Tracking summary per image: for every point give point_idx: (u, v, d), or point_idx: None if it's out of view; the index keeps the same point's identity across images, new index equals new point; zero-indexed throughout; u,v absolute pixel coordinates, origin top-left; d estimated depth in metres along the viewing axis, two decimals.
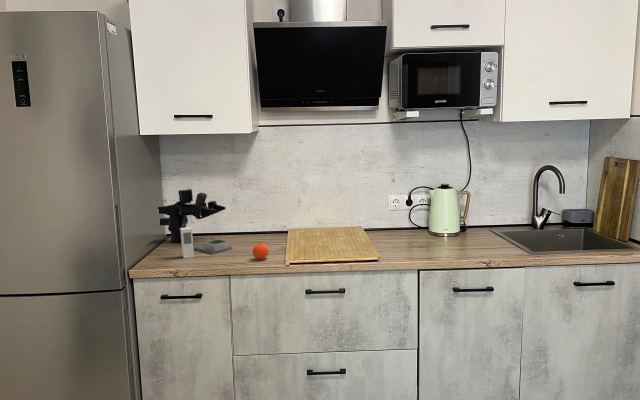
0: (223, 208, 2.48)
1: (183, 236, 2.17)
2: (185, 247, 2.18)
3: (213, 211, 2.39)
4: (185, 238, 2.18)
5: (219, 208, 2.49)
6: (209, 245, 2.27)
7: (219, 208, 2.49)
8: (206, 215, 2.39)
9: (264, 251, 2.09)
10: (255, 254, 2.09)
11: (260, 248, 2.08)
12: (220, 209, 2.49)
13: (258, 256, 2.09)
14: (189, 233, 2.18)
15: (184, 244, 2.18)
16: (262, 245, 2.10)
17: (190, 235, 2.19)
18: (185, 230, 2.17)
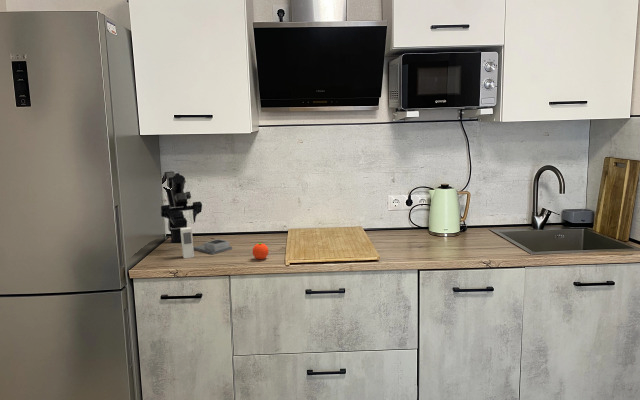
0: None
1: (183, 236, 2.17)
2: (185, 247, 2.18)
3: (172, 221, 2.26)
4: (185, 238, 2.18)
5: (193, 216, 2.31)
6: (209, 245, 2.27)
7: (193, 215, 2.31)
8: (168, 218, 2.29)
9: (264, 251, 2.09)
10: (255, 254, 2.09)
11: (260, 248, 2.08)
12: (193, 218, 2.31)
13: (258, 256, 2.09)
14: (189, 233, 2.18)
15: (184, 244, 2.18)
16: (262, 245, 2.10)
17: (190, 235, 2.19)
18: (185, 230, 2.17)
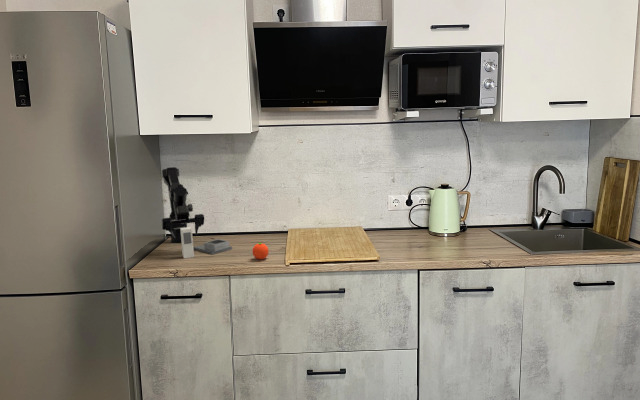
0: (195, 233, 2.24)
1: (183, 236, 2.17)
2: (185, 247, 2.18)
3: (173, 234, 2.20)
4: (185, 238, 2.18)
5: None
6: (209, 245, 2.27)
7: (195, 229, 2.25)
8: (170, 231, 2.23)
9: (264, 251, 2.09)
10: (255, 254, 2.09)
11: (260, 248, 2.08)
12: (195, 231, 2.25)
13: (258, 256, 2.09)
14: (189, 233, 2.18)
15: (184, 244, 2.18)
16: (262, 245, 2.10)
17: (190, 235, 2.19)
18: (185, 230, 2.17)
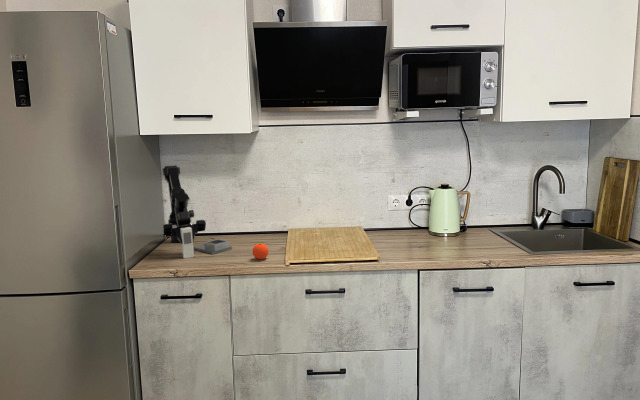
0: None
1: (183, 236, 2.17)
2: (185, 247, 2.18)
3: (179, 240, 2.19)
4: (185, 238, 2.18)
5: (192, 235, 2.22)
6: (209, 245, 2.27)
7: None
8: (176, 236, 2.22)
9: (264, 251, 2.09)
10: (255, 254, 2.09)
11: (260, 248, 2.08)
12: None
13: (258, 256, 2.09)
14: (189, 233, 2.18)
15: (184, 244, 2.18)
16: (262, 245, 2.10)
17: (190, 235, 2.19)
18: (185, 230, 2.17)
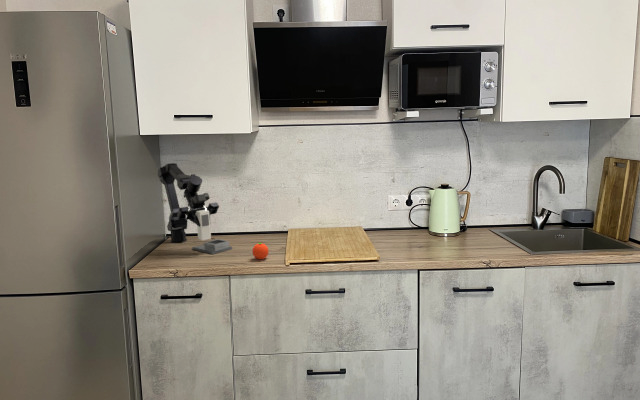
0: None
1: (201, 218, 2.20)
2: (203, 229, 2.22)
3: (197, 222, 2.22)
4: (203, 221, 2.21)
5: None
6: (209, 245, 2.27)
7: None
8: (191, 219, 2.24)
9: (264, 251, 2.09)
10: (255, 254, 2.09)
11: (260, 248, 2.08)
12: None
13: (258, 256, 2.09)
14: (207, 216, 2.22)
15: (202, 226, 2.21)
16: (262, 245, 2.10)
17: (208, 217, 2.22)
18: (203, 212, 2.21)
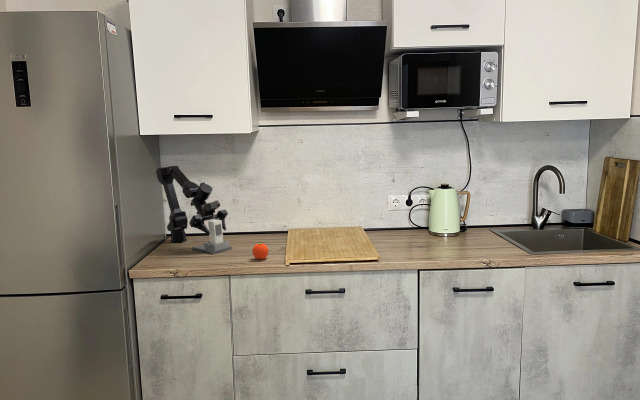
0: (224, 228, 2.31)
1: (215, 228, 2.26)
2: (217, 239, 2.27)
3: (206, 230, 2.24)
4: (217, 230, 2.26)
5: (222, 224, 2.33)
6: (209, 245, 2.27)
7: (222, 224, 2.32)
8: (199, 228, 2.26)
9: (264, 251, 2.09)
10: (255, 254, 2.09)
11: (260, 248, 2.08)
12: (222, 226, 2.32)
13: (258, 256, 2.09)
14: (220, 225, 2.27)
15: (216, 236, 2.26)
16: (262, 245, 2.10)
17: (221, 226, 2.28)
18: (216, 222, 2.26)
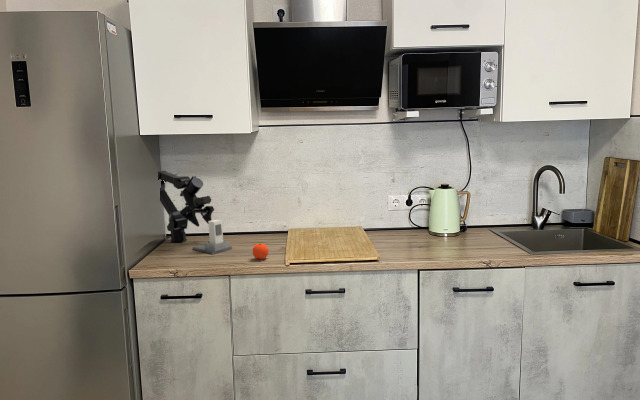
0: None
1: (215, 228, 2.26)
2: (217, 239, 2.27)
3: (196, 222, 2.31)
4: (217, 230, 2.26)
5: (208, 219, 2.41)
6: (209, 245, 2.27)
7: (208, 219, 2.40)
8: (189, 218, 2.32)
9: (264, 251, 2.09)
10: (255, 254, 2.09)
11: (260, 248, 2.08)
12: (207, 221, 2.40)
13: (258, 256, 2.09)
14: (220, 225, 2.27)
15: (216, 236, 2.26)
16: (262, 245, 2.10)
17: (221, 226, 2.28)
18: (216, 222, 2.26)
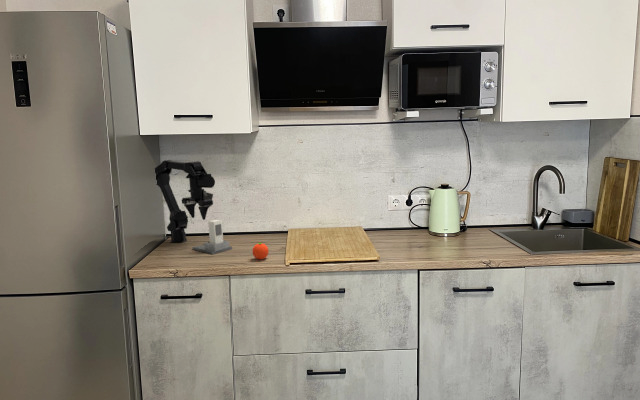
0: (193, 215, 2.45)
1: (215, 228, 2.26)
2: (217, 239, 2.27)
3: (204, 216, 2.38)
4: (217, 230, 2.26)
5: (191, 210, 2.44)
6: (209, 245, 2.27)
7: (192, 210, 2.44)
8: (202, 209, 2.36)
9: (264, 251, 2.09)
10: (255, 254, 2.09)
11: (260, 248, 2.08)
12: (191, 212, 2.44)
13: (258, 256, 2.09)
14: (220, 225, 2.27)
15: (216, 236, 2.26)
16: (262, 245, 2.10)
17: (221, 226, 2.28)
18: (216, 222, 2.26)
